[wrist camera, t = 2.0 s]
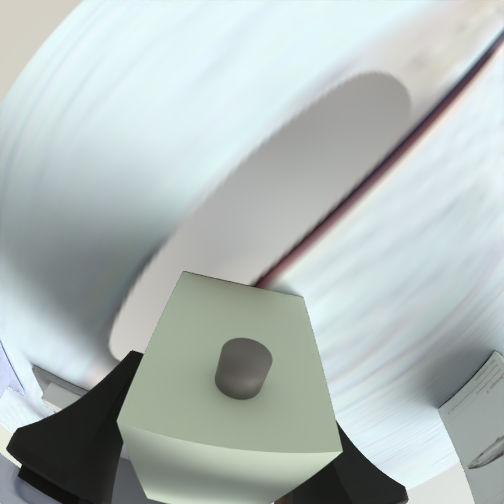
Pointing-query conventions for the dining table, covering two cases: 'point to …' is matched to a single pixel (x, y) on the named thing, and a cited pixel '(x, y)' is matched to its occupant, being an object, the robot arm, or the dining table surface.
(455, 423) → the supplement box
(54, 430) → the robot arm
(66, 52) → the dining table surface
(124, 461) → the grey piece
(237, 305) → the cabinet block
